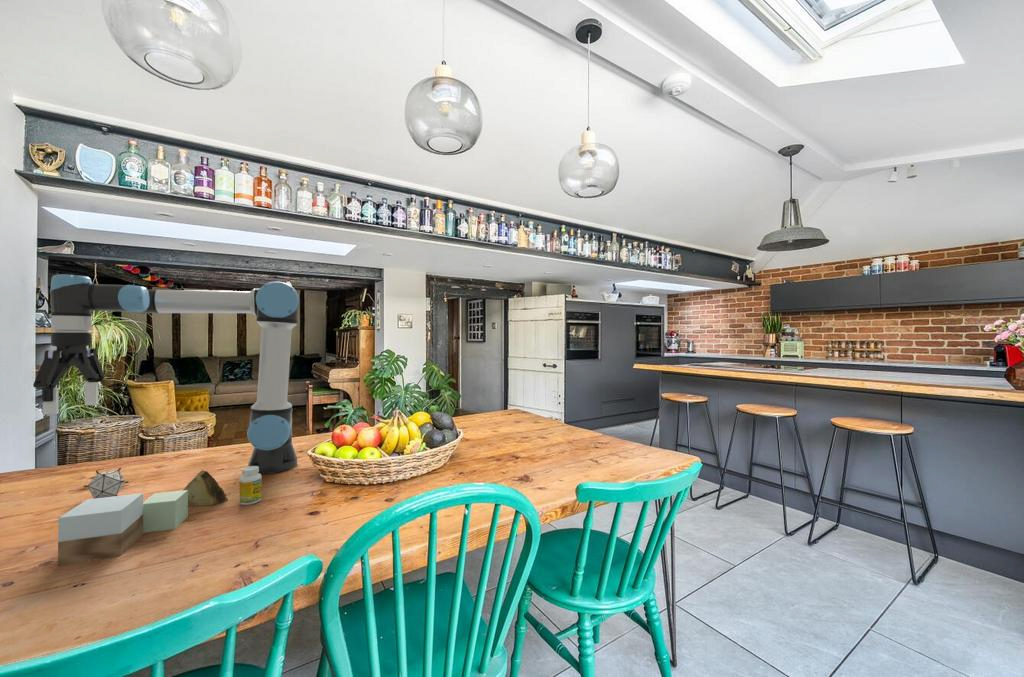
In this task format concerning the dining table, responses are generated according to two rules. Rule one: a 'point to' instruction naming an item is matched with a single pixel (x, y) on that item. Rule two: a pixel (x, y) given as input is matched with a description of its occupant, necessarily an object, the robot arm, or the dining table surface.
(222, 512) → the dining table surface
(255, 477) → the supplement bottle
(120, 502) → the tower top block
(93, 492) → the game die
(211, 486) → the rock
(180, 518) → the green cube
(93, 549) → the tower base block
